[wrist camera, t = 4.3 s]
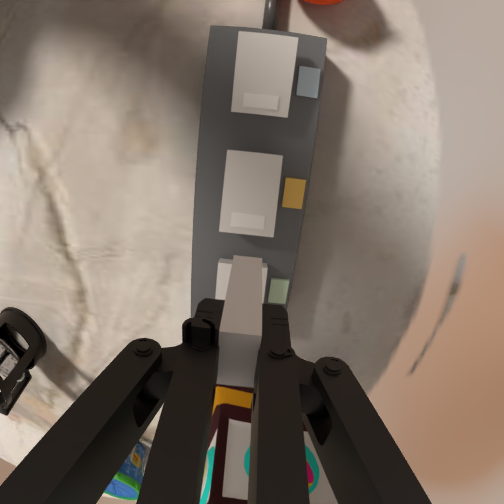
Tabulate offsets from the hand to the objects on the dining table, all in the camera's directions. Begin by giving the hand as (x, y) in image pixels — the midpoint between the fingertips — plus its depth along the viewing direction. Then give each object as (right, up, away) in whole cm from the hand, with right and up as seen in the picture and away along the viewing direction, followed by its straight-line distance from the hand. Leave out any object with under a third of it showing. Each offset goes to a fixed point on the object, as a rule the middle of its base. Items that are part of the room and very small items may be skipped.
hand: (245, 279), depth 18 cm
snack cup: (-23, -33, +31) cm, 51 cm away
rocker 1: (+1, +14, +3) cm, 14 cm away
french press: (-34, -11, +21) cm, 42 cm away
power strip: (+1, +11, +11) cm, 15 cm away
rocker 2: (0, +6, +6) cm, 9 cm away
